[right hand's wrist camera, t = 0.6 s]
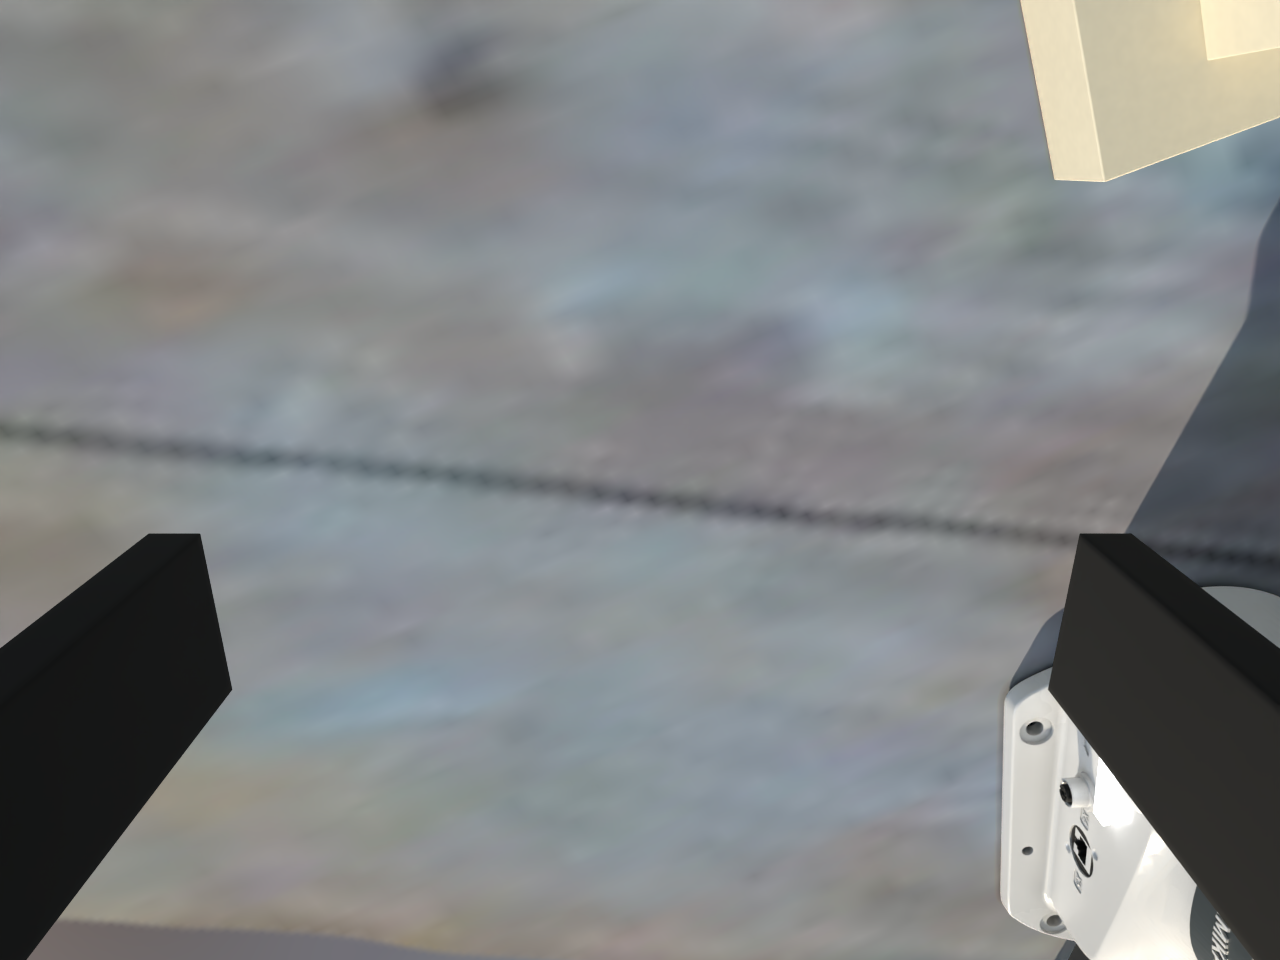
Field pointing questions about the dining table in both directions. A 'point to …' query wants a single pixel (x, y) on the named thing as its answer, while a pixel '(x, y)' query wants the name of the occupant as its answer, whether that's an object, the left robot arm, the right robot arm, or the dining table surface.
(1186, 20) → the peg board
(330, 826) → the dining table surface
